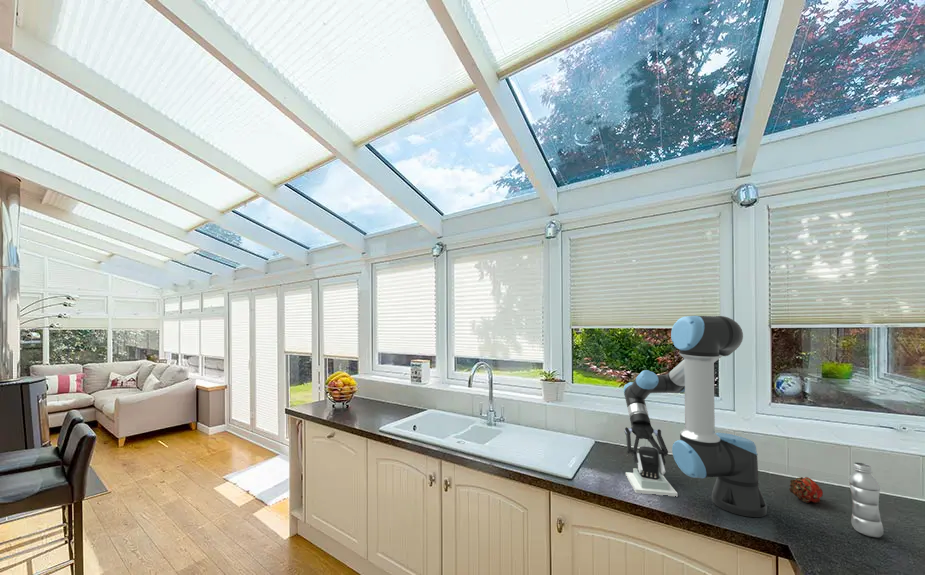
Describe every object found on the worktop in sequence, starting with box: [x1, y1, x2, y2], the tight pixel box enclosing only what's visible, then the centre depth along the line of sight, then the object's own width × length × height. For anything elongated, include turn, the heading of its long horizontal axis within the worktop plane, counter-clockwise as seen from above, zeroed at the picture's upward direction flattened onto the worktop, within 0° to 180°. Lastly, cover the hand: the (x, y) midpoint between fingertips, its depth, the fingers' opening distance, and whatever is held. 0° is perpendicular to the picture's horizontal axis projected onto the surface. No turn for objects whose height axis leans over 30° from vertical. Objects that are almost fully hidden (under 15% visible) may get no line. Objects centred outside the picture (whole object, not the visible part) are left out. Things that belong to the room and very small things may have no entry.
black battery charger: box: [638, 445, 660, 480], centre depth 143 cm, size 7×4×11 cm, turn 58°
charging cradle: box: [625, 467, 679, 498], centre depth 143 cm, size 14×16×4 cm
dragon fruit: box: [788, 476, 824, 504], centre depth 132 cm, size 8×8×12 cm
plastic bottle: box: [848, 461, 884, 538], centre depth 112 cm, size 6×7×20 cm
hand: (652, 472), depth 140 cm, fingers closed on black battery charger, 7 cm apart
